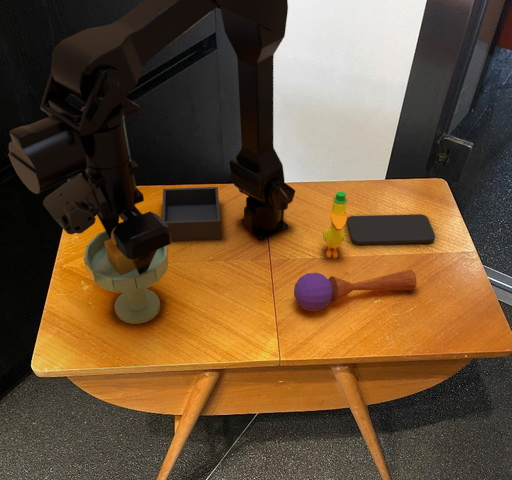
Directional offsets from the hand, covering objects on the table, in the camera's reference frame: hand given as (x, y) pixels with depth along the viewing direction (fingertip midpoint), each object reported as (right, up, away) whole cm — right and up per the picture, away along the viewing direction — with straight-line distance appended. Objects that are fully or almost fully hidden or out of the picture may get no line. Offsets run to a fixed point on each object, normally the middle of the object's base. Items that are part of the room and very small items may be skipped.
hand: (127, 254), depth 78 cm
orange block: (0, -1, +1) cm, 1 cm away
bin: (+7, +9, +22) cm, 25 cm away
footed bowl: (0, -7, +8) cm, 11 cm away
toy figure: (+31, +3, +17) cm, 36 cm away
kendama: (+34, -5, +11) cm, 36 cm away
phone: (+43, +8, +22) cm, 48 cm away
